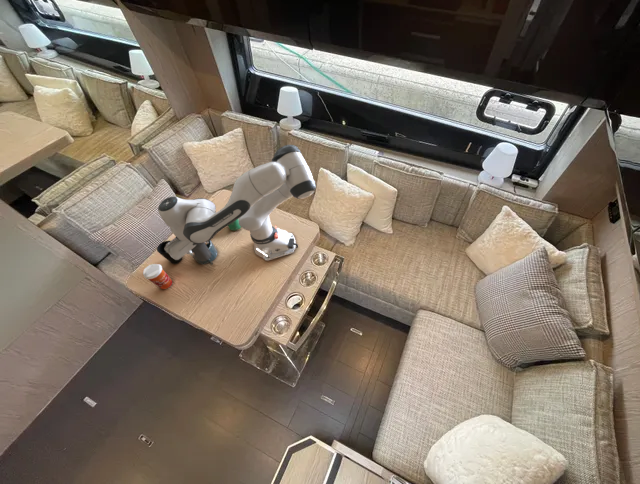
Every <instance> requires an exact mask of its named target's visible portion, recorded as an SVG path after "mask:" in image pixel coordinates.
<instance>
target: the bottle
mask: <svg viewBox="0 0 640 484" xmlns="http://www.w3.org/2000/svg"><path fill="white" fill-rule="evenodd" d="M190 242H191V241H190ZM193 245H196V246H195V247H194V248H193V249H192V250H191V251H193V252H194V253H195V256H196V257H197V258H198V260H199V261H207V260H208V259H210V257H211V252H210V250H209V249H208V247H207V246H206V244H205V243H201V244H197V243H193Z"/></svg>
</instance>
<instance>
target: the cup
mask: <svg viewBox="0 0 640 484" xmlns="http://www.w3.org/2000/svg"><path fill="white" fill-rule="evenodd" d="M170 241H171V240H165V241H162V242H160V243H159V244H158V245H157V247H156V252H157V253H159V255H161V256H162V257H163V258H164V259H166V260H167V261H168V262H169V263H170V264H173V265H177V264H179V263H180V262H182V261H183V257H182V258H180V259H179V260H175V259H173V258H172V257H171V256H170V255H169V253H167V252H166V251H165V250H164V248H165V246H166V244H167V243H169V242H170Z"/></svg>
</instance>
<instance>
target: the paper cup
mask: <svg viewBox="0 0 640 484" xmlns="http://www.w3.org/2000/svg"><path fill="white" fill-rule="evenodd" d="M142 274H143V275H142V276H143V278H144V279H146V280H149V281H150V282H151V283H153V284H154V285H155V286H157V287H158V288H160V289H161V290H166V289H169V288H171V286H172V285H173V280H172V279H171V277H170V276H169V275H168V274H167V273H166V271H165V270H164V269H163V266H162V264H159V263H152V264H149V265H147V266H146V267H145V268H144V269H143V270H142Z"/></svg>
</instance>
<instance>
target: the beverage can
mask: <svg viewBox="0 0 640 484" xmlns="http://www.w3.org/2000/svg"><path fill="white" fill-rule="evenodd" d="M227 227H228V229H229V230H231V231H232V232H233V231H234V232H236V231H239V230H241V229H242V227H241V226H240V225H239V219H237V220H236V221H234V222H233V223H231V224H230V225H228V226H227Z"/></svg>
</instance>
